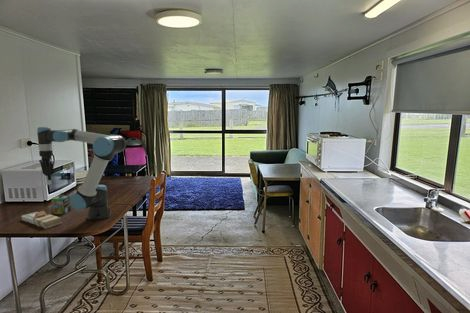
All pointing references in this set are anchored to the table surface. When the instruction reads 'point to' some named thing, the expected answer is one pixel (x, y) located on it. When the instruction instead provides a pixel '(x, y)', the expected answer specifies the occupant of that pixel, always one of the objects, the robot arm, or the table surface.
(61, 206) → the chalk box
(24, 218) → the tray
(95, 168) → the robot arm
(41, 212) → the salmon tan block
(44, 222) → the birch board
